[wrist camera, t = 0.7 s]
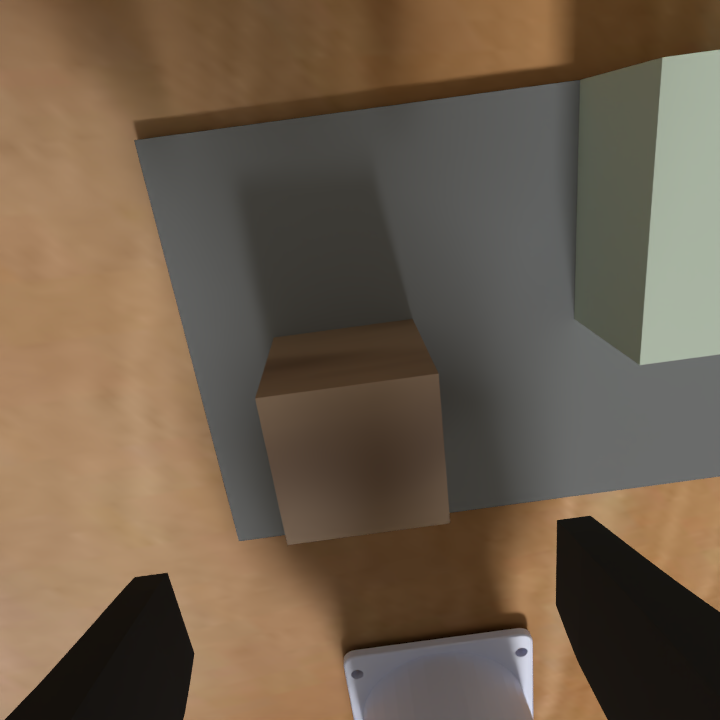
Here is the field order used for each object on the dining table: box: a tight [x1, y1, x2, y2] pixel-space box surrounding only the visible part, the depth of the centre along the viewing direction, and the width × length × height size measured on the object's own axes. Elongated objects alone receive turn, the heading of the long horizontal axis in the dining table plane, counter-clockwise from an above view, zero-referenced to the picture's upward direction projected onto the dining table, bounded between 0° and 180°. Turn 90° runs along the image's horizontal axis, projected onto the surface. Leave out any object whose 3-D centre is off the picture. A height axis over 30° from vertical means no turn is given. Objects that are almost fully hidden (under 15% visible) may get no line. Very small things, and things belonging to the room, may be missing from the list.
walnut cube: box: [255, 319, 450, 545], centre depth 16 cm, size 4×4×4 cm
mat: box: [134, 80, 720, 541], centre depth 18 cm, size 14×22×1 cm, turn 97°
